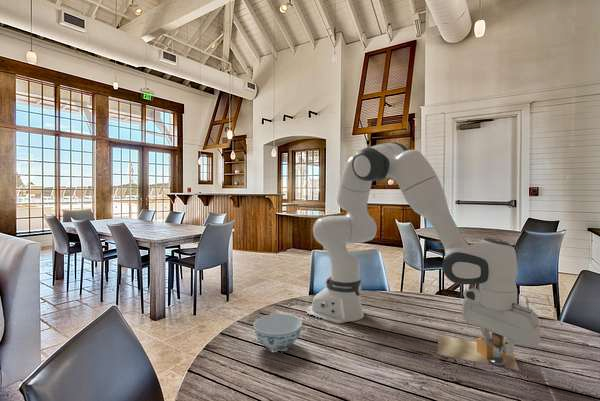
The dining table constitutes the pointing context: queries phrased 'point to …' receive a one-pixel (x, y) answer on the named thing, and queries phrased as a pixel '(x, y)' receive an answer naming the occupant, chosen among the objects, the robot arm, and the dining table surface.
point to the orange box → (486, 348)
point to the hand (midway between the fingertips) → (497, 348)
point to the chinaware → (277, 331)
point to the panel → (469, 351)
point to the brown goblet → (497, 350)
